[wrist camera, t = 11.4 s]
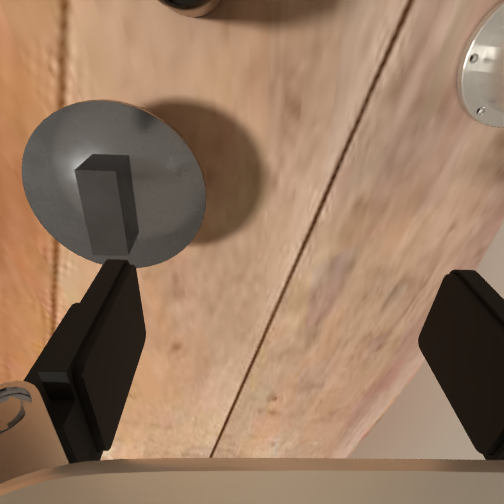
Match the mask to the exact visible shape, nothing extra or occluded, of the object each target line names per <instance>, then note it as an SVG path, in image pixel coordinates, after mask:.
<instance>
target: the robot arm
mask: <svg viewBox="0 0 504 504" xmlns="http://www.w3.org/2000/svg"><path fill="white" fill-rule="evenodd" d="M470 57H471V58H470ZM457 90H458V96H459V100H460V102H461V105H462V107H463V108H464V110H465V111H466V113H467V114H468V115H469V116H470V117H471V118H473V119H474V120H475V121H477V122H480V123H482V124H485V125H488V126H492V127H504V0H503V1H502V2H501V3H499V4H498V5H497V6H496V7H494V8H493V9H492V10H491V11H490V12H489V13H488V14H487V16H486V17H485V18H484V19H483V20H482V21H481V22H480V24H479V25H478V27H477V28H476V29H475V31H474V32H473V33H472V35H471V37H470V39H469V41H468V43H467V45H466V47H465V49H464V52H463V54H462V57H461V60H460V64H459V69H458V74H457ZM145 338H146V329H145V323H144V316H143V310H142V304H141V297H140V291H139V284H138V278H137V271H136V267H135V265H130V263H129V261H128V260H122V259H107V260H106V261H105V262H104V264H103V266H102V267H101V269H100V271H99V272H98V274H97V276H96V277H95V279H94V281H93V282H92V284H91V285H90V287H89V289H88V290H87V292H86V294H85V295H84V297H83V299H82V300H81V302H80V303H75V304H73V305H72V306H71V307H70V308H69V310H68V312H67V313H66V315H65V316H64V318H63V319H62V321H61V323H60V324H59V326H58V327H57V329H56V330H55V332H54V334H53V335H52V337H51V338H50V340H49V341H48V343H47V345H46V346H45V348H44V349H43V351H42V352H41V354H40V356H39V357H38V359H37V360H36V362H35V364H34V365H33V367H32V368H31V370H30V371H29V373H28V375H27V376H26V378H25V379H24V381H11V382H5V383H2V384H0V504H504V299H503V298H502V297H501V296H500V295H499V294H498V293H497V292H496V291H495V290H494V289H493V288H492V287H491V286H490V285H489V284H488V283H487V282H486V281H485V280H484V279H483V278H482V277H481V276H480V275H479V274H478V273H477V272H476V271H474V270H452V271H451V272H450V274H447V275H446V276H445V277H444V278H443V281H442V283H441V286H440V288H439V290H438V293H437V295H436V297H435V300H434V302H433V304H432V307H431V309H430V312H429V314H428V316H427V319H426V321H425V323H424V326H423V328H422V331H421V333H420V335H419V338H418V344H419V348H420V350H421V352H422V353H423V355H424V357H425V359H426V361H427V362H428V364H429V366H430V368H431V370H432V371H433V373H434V375H435V377H436V379H437V380H438V382H439V384H440V386H441V388H442V389H443V391H444V393H445V395H446V397H447V398H448V400H449V402H450V404H451V406H452V407H453V409H454V411H455V413H456V415H457V417H458V418H459V420H460V422H461V424H462V425H463V427H464V429H465V431H466V433H467V435H468V436H469V438H470V440H471V442H472V443H473V445H474V447H475V449H476V450H477V451H478V452H479V453H481V454H483V456H484V457H485V459H486V460H441V459H440V460H439V459H329V458H162V459H117V460H101V461H100V459H101V456H102V453H103V451H108V450H109V449H110V448H111V445H112V443H113V440H114V436H115V433H116V430H117V427H118V424H119V421H120V418H121V415H122V412H123V409H124V405H125V402H126V399H127V396H128V393H129V390H130V387H131V384H132V381H133V378H134V374H135V371H136V368H137V365H138V362H139V359H140V356H141V353H142V350H143V346H144V343H145Z"/></svg>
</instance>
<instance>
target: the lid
mask: <svg viewBox="0 0 504 504" xmlns="http://www.w3.org/2000/svg"><path fill="white" fill-rule="evenodd" d="M22 181H23V186H24V190H25V194H26V197H27V199H28V202H29V205H30V206H31V208H32V210H33V212H34V214H35V216H36V217H37V218H38V220H39V221H40V223H41V224H42V225H43V227H44V228H45V229H46V230H47V231H48V232H49V233H50V234H51V235H52V236H53V237H54V238H55V239H56V240H57V241H58V242H60V243H61V244H62V245H63V246H65V247H66V248H67V249H69V250H71V251H72V252H74V253H76V254H77V255H79V256H81V257H83V258H85V259H88V260H90V261H93V262H96V263H99V264H104V262H105V261H106V260H107V259H122V260H128V261H129V263H130V265H135V267H136V268H141V267H148V266H152V265H156V264H159V263H161V262H164V261H166V260H168V259H170V258H172V257H174V256H175V255H177V254H178V253H180V252H181V251H182V250H183V249H184V248H185V247H186V246H187V245H188V244H189V243H190V242H191V241H192V240H193V238H194V237H195V235H196V234H197V232H198V230H199V228H200V226H201V223H202V220H203V217H204V212H205V206H206V186H205V181H204V176H203V173H202V170H201V167H200V164H199V162H198V160H197V158H196V156H195V154H194V152H193V151H192V149H191V148H190V147H189V145H188V144H187V142H186V141H185V140H184V139H183V138H182V137H181V135H180V134H179V133H178V132H177V131H176V130H175V129H173V128H172V127H171V126H170V125H169V124H168V123H166V122H165V121H163V120H162V119H161V118H159V117H158V116H156V115H154V114H152V113H151V112H149V111H147V110H145V109H142V108H140V107H137V106H135V105H132V104H128V103H124V102H120V101H113V100H88V101H82V102H78V103H75V104H72V105H69V106H66V107H64V108H62V109H60V110H58V111H56V112H54V113H52V114H51V115H50V116H48V117H47V118H46V119H44V120H43V121H42V122H41V123H40V125H39V126H38V127H37V128H36V129H35V130H34V132H33V133H32V135H31V137H30V138H29V140H28V143H27V145H26V147H25V151H24V155H23V159H22Z"/></svg>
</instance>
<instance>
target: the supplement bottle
mask: <svg viewBox="0 0 504 504" xmlns="http://www.w3.org/2000/svg"><path fill="white" fill-rule="evenodd" d="M158 1H159V2H161V3H162V4H164V5H165V6H167V7H168V8H170V9H171V10H173V11H175V12H176V13H178V14H181V15H184V16H188V17H200V16H203V15H206V14H208V13H210V12H211V11H213V10H214V9H215V8H216V7H217V6H218V5H219V4H220V2H221V1H222V0H158Z"/></svg>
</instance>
